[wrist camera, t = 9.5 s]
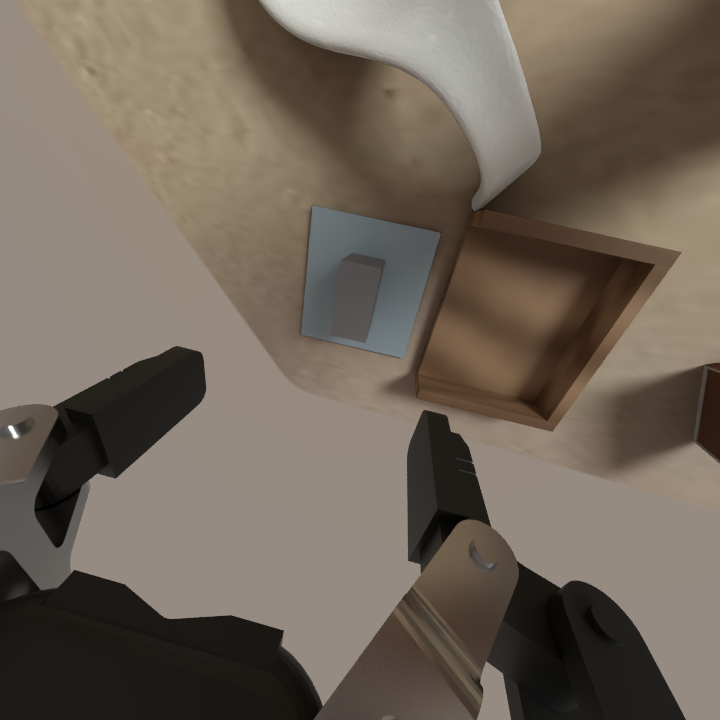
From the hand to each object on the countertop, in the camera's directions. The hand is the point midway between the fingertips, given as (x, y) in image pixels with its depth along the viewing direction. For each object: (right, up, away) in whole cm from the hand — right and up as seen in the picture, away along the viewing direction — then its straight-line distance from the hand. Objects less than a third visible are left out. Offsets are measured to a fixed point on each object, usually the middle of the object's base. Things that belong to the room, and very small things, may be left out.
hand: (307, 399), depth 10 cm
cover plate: (+2, +8, +17) cm, 19 cm away
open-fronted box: (+15, +5, +16) cm, 22 cm away
